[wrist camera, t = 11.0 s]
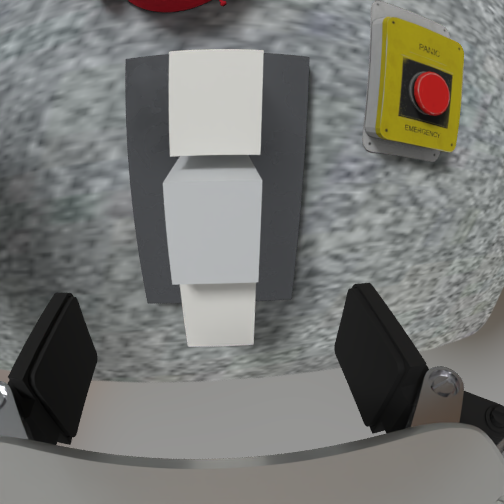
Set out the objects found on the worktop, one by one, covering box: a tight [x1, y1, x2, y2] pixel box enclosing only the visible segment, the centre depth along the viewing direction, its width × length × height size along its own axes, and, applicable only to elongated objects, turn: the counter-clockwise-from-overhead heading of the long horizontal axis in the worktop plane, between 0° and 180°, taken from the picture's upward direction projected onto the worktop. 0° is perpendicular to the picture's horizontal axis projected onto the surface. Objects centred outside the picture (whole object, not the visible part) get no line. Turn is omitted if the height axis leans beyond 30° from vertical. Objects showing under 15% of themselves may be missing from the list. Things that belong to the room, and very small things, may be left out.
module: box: [163, 155, 262, 285], centre depth 20 cm, size 6×5×8 cm
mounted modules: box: [169, 49, 264, 347], centre depth 21 cm, size 20×5×6 cm, turn 179°
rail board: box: [126, 53, 309, 303], centre depth 25 cm, size 22×14×2 cm, turn 179°
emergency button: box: [362, 1, 464, 162], centre depth 21 cm, size 9×4×15 cm
